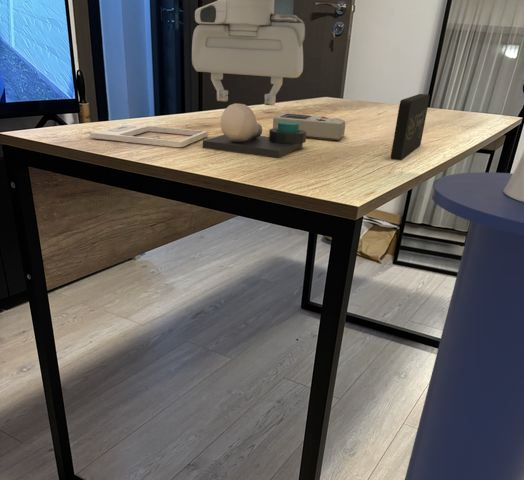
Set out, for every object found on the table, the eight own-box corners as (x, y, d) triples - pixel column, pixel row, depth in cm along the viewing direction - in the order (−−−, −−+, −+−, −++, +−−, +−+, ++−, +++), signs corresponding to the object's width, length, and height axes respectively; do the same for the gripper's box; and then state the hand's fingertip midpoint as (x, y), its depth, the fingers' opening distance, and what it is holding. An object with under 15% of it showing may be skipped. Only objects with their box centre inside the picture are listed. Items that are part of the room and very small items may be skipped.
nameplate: (411, 144, 115) (420, 93, 110) (420, 145, 114) (430, 94, 109) (390, 159, 98) (400, 100, 93) (400, 161, 98) (411, 101, 92)
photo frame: (125, 122, 111) (207, 130, 108) (125, 128, 112) (207, 136, 109) (89, 131, 99) (181, 140, 96) (90, 137, 100) (181, 147, 96)
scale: (309, 147, 105) (310, 130, 104) (283, 158, 93) (284, 140, 92) (235, 137, 110) (236, 121, 109) (202, 147, 98) (202, 130, 97)
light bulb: (250, 108, 104) (220, 93, 94) (278, 119, 102) (250, 105, 92) (238, 142, 106) (208, 131, 97) (265, 153, 104) (237, 144, 94)
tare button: (301, 132, 103) (301, 123, 102) (294, 135, 100) (294, 125, 99) (281, 130, 104) (282, 120, 103) (274, 132, 101) (274, 122, 100)
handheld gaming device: (339, 142, 113) (341, 122, 111) (271, 134, 116) (273, 115, 114) (344, 136, 120) (347, 118, 118) (281, 130, 123) (282, 112, 121)
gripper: (312, 16, 90) (305, 106, 97) (203, 13, 96) (204, 97, 103) (299, 13, 85) (293, 109, 91) (186, 10, 91) (188, 100, 98)
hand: (245, 103), depth 97 cm, fingers open, 8 cm apart
